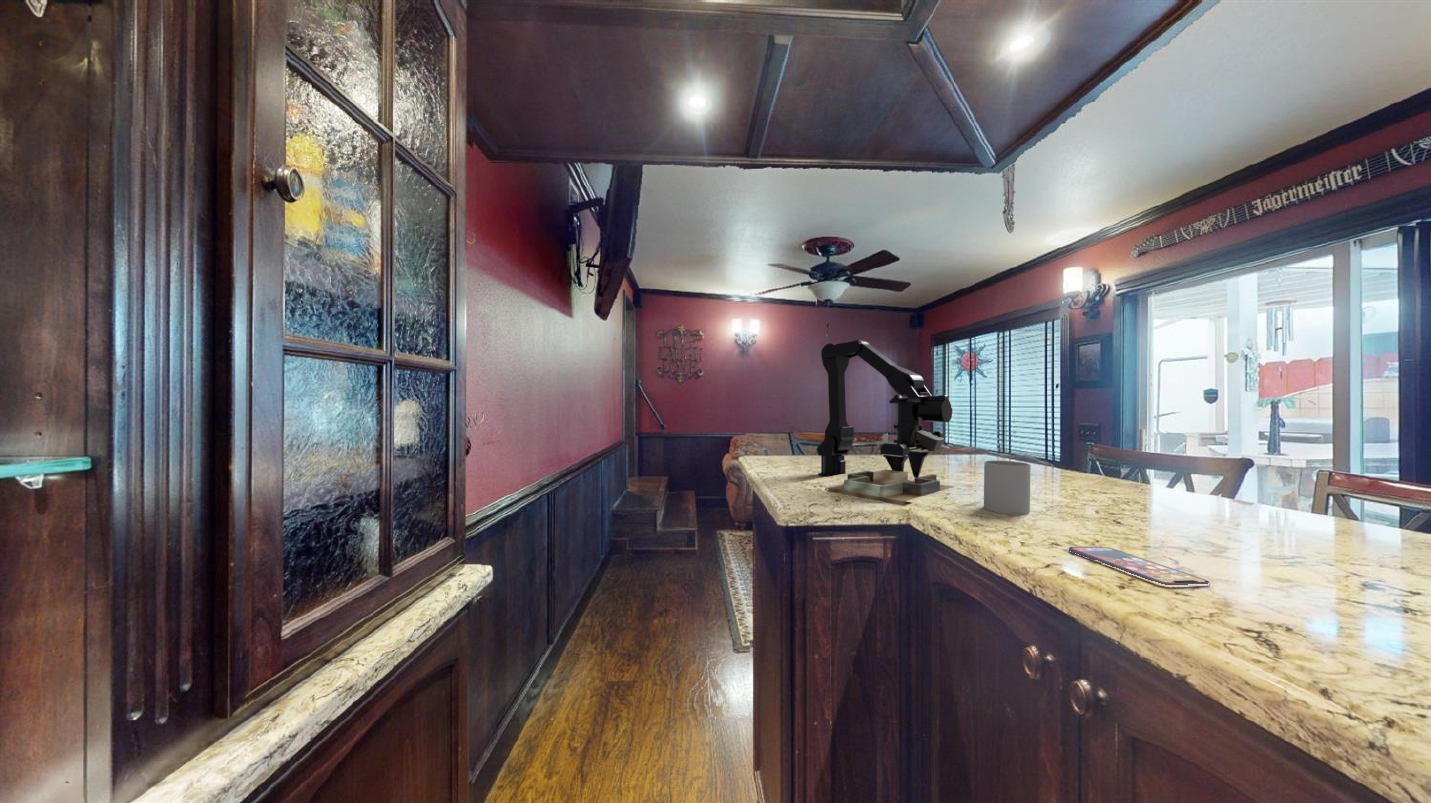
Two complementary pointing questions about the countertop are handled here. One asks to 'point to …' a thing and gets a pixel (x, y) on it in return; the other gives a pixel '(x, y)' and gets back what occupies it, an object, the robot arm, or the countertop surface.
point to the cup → (1007, 487)
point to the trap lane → (888, 488)
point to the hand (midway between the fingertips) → (908, 479)
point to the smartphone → (1138, 566)
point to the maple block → (889, 477)
